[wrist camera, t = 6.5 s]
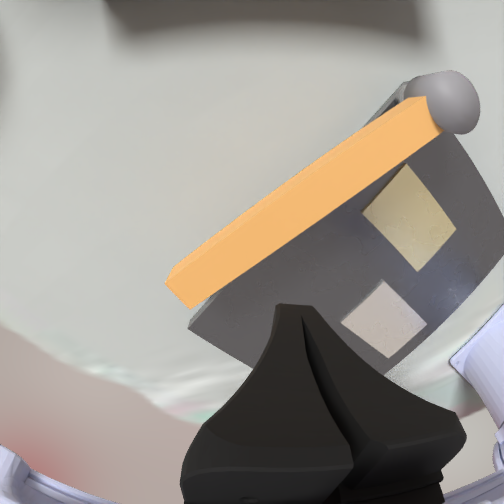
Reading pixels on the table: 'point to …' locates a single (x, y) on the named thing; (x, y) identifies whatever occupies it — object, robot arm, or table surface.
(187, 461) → the robot arm
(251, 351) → the panel
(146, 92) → the table surface
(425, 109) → the swing arm
